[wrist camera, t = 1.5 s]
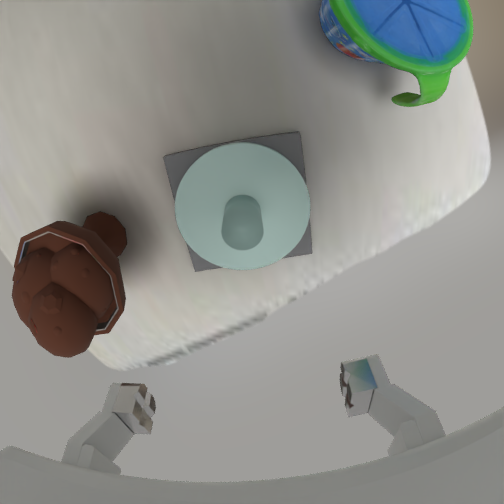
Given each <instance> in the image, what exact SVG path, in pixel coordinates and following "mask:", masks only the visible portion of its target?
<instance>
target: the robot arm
mask: <svg viewBox="0 0 504 504" xmlns="http://www.w3.org/2000/svg"><path fill="white" fill-rule="evenodd" d="M340 368H341V372H342V373H341V374H340V387H341V392H342V395H343V396H344V397H345V407H346V410H347V414H348V417H350V416H356V415H361V414H365V413H368V414H369V415H370V416H371V417H372V418H373V419H375V420H376V421H377V422H378V423H379V424H380V425H381V426H382V427H384V428H385V429H386V430H387V431H388V432H389V433H390V434H392V435H393V436H394V439H393V441H392V443H391V445H390V447H389V449H388V454H389V456H388V457H385V458H382V459H378V460H374V461H371V462H367V463H363V464H359V465H355V466H351V467H346V468H342V469H338V470H332V471H327V472H321V473H316V474H310V475H304V476H296V477H289V478H280V479H271V480H259V481H242V482H185V481H169V480H157V479H147V478H139V477H131V476H124V475H120V473H121V469H120V468H119V467H118V466H117V465H116V464H115V463H113V460H114V459H115V458H116V457H117V455H118V454H119V453H120V452H121V450H122V449H123V448H124V447H125V445H126V444H127V443H128V442H129V440H130V439H131V438H132V437H133V435H134V434H151V430H152V424H153V421H152V419H151V417H152V416H153V415H154V414H155V409H156V405H155V400H154V397H153V396H152V394H150V393H149V392H147V387H146V386H145V384H134V383H113V384H112V385H111V386H110V389H109V392H108V394H107V397H106V400H105V404H104V407H103V410H102V412H98V413H97V414H96V415H95V416H94V417H93V418H92V419H91V420H90V421H88V423H86V424H85V425H84V426H83V427H82V428H81V429H80V430H79V431H78V432H76V433H75V434H74V435H73V436H72V437H71V438H70V439H69V440H68V442H67V445H66V448H65V452H64V455H63V458H62V461H61V462H59V461H56V460H53V459H49V458H46V457H43V456H39V455H36V454H34V453H31V452H28V451H25V450H22V449H20V448H17V447H14V446H7V447H6V448H4V449H3V450H1V451H0V504H504V407H502V408H501V409H499V410H497V411H496V412H494V413H492V414H490V415H488V416H486V417H484V418H483V419H480V420H478V421H476V422H474V423H472V424H471V425H468V426H466V427H464V428H462V429H460V430H458V431H455V432H453V433H451V434H449V435H445V432H444V430H443V427H442V425H441V423H440V420H439V418H438V416H437V413H436V411H435V410H433V409H432V408H430V407H429V406H427V405H426V404H424V403H423V402H421V401H419V400H418V399H416V398H415V397H413V396H412V395H410V394H409V393H407V392H406V391H404V390H403V389H401V388H400V387H398V386H396V385H395V384H390V382H389V379H388V376H387V374H386V372H385V369H384V367H383V365H382V362H381V360H380V358H379V356H378V355H377V354H375V355H371V356H367V357H361V358H357V359H353V360H349V361H344V362H341V367H340Z"/></svg>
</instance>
